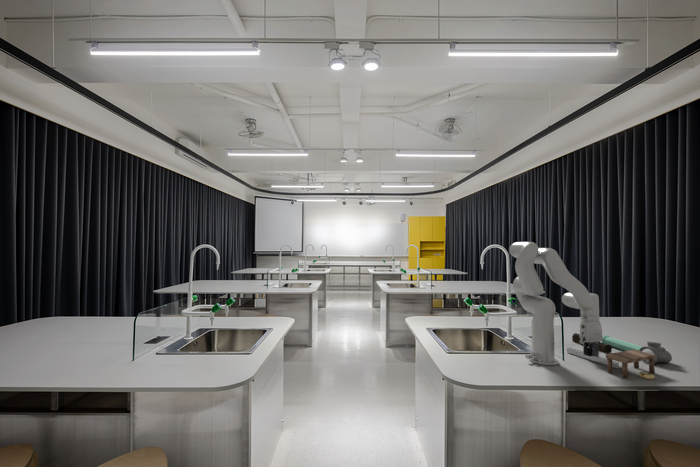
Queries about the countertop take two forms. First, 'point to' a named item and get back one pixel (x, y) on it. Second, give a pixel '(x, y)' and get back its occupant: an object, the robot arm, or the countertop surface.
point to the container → (619, 344)
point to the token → (646, 376)
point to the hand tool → (601, 346)
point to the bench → (630, 360)
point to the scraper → (592, 355)
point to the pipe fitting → (656, 352)
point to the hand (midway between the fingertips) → (590, 354)
